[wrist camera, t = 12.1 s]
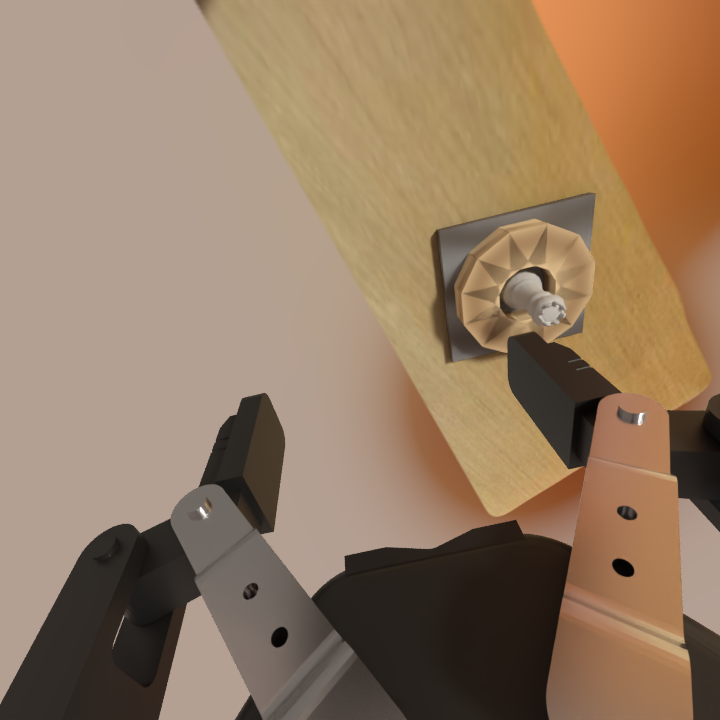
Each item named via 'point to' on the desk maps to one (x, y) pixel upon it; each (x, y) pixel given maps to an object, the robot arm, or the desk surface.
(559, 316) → the rook chess piece
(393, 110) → the desk surface
